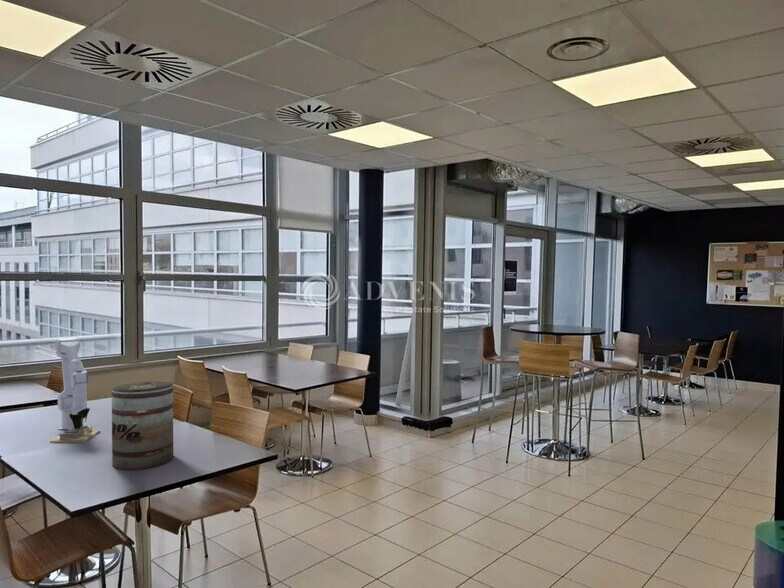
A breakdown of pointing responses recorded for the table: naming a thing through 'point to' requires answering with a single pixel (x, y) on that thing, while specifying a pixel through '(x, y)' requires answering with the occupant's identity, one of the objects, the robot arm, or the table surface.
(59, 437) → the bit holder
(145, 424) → the barrel
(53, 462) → the table surface
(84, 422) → the brushed aluminum block
